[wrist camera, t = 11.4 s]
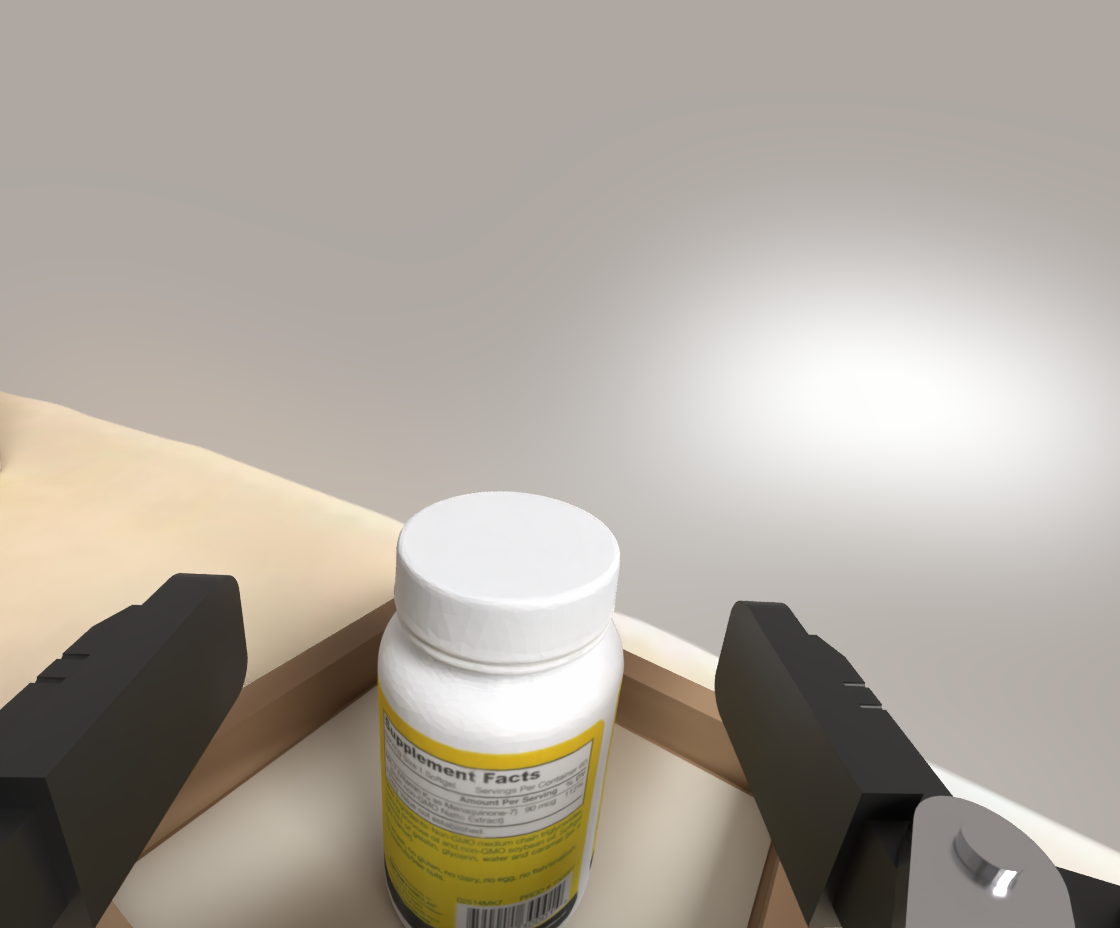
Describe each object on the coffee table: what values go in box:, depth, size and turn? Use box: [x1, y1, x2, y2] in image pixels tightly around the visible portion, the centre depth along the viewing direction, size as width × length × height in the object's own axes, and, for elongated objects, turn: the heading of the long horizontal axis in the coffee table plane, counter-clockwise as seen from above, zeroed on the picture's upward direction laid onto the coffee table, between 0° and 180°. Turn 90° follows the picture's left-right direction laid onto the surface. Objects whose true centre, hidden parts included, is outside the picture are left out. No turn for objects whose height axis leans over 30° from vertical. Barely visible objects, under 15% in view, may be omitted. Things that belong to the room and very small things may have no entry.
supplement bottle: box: [378, 492, 624, 928], centre depth 12 cm, size 5×5×8 cm
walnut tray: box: [95, 599, 808, 928], centre depth 13 cm, size 14×13×3 cm
